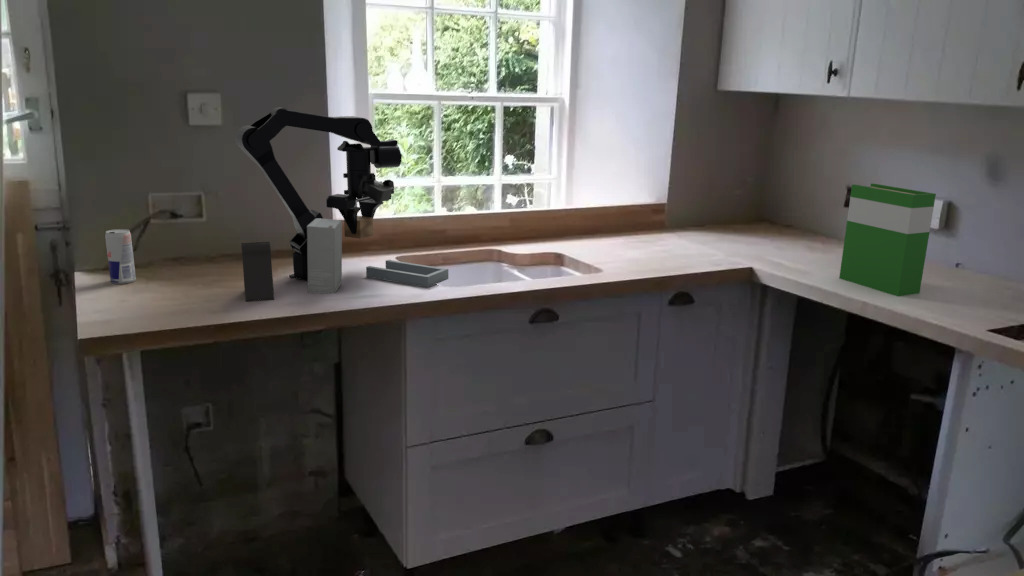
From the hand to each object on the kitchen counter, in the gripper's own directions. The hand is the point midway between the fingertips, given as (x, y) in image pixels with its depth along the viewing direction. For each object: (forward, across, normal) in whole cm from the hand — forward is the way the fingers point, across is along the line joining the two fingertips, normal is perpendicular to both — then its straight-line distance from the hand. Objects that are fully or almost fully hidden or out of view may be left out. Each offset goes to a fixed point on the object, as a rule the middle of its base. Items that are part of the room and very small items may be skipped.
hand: (360, 232), depth 198 cm
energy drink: (+10, -38, +40) cm, 56 cm away
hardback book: (+10, +56, -116) cm, 129 cm away
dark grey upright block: (+10, -30, +5) cm, 32 cm away
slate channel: (+10, 0, -14) cm, 17 cm away
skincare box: (+10, -18, -4) cm, 21 cm away
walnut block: (+1, 0, +1) cm, 1 cm away
